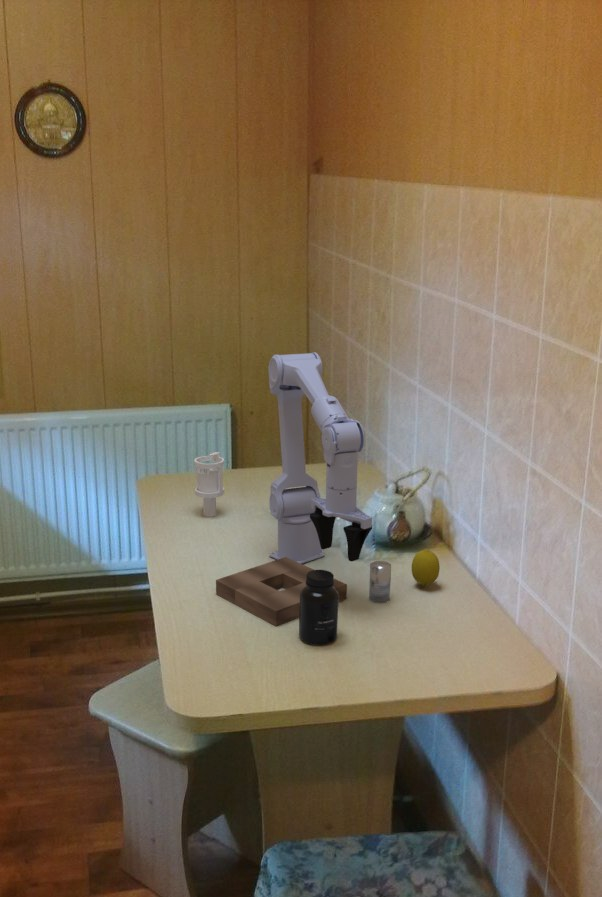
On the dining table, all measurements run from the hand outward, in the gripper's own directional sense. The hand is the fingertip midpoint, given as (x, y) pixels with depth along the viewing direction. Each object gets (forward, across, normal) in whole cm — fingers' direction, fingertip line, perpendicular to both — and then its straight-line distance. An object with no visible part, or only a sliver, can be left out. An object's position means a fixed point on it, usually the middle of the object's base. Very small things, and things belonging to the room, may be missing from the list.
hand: (339, 553), depth 177 cm
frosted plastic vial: (+10, +4, +7) cm, 13 cm away
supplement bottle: (+10, +8, -13) cm, 18 cm away
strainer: (+10, -55, +9) cm, 57 cm away
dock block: (+10, -9, -7) cm, 15 cm away
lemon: (+10, +6, +18) cm, 21 cm away
